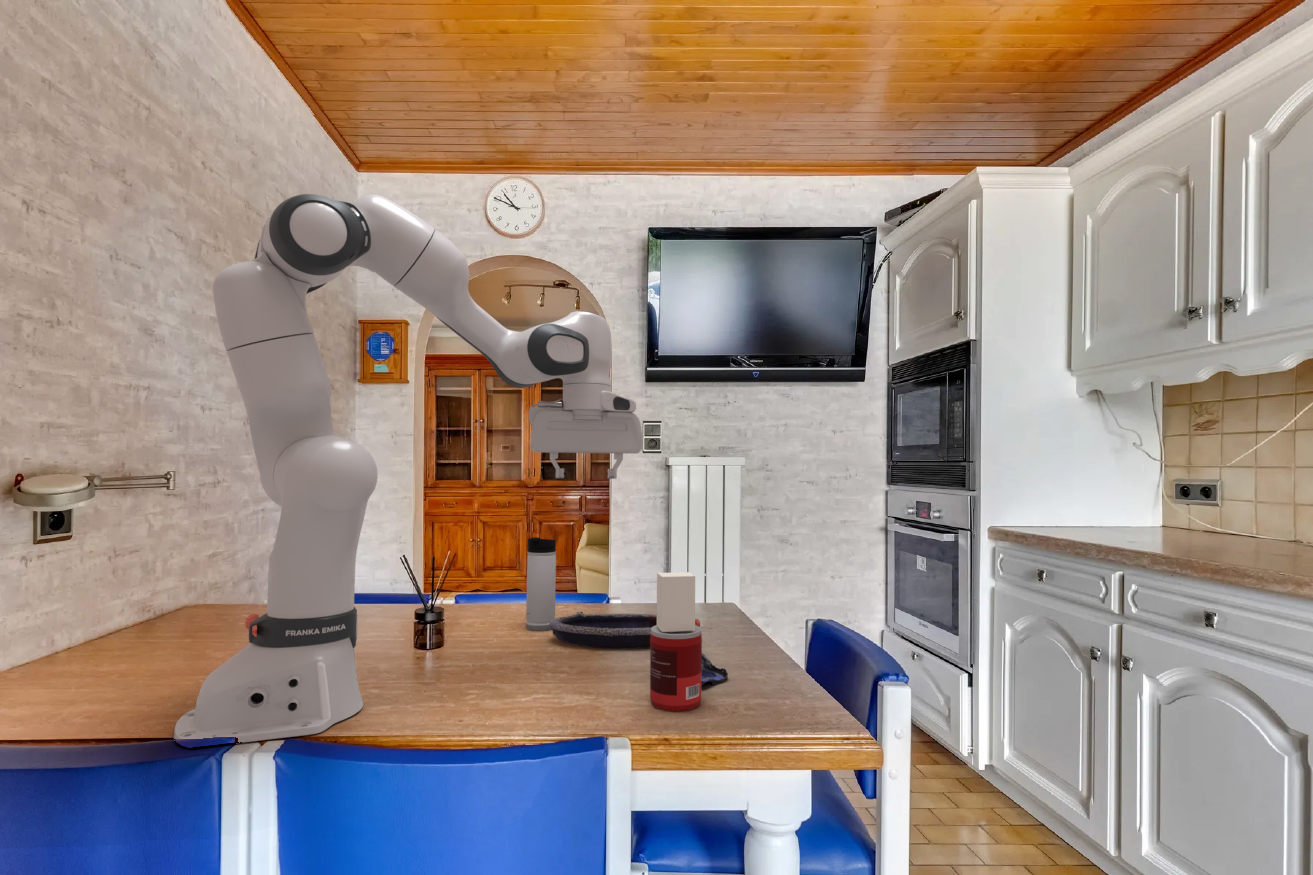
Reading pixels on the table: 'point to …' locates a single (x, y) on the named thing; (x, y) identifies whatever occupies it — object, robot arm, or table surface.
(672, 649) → the canned food
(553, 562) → the travel mug
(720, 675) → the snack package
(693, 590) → the block
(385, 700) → the table surface
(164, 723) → the table surface
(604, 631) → the dish
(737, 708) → the table surface
